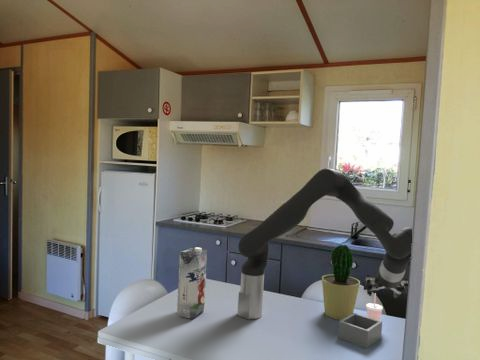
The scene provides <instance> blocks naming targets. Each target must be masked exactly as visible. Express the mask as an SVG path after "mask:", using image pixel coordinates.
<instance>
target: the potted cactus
mask: <svg viewBox="0 0 480 360" xmlns="http://www.w3.org/2000/svg"><path fill="white" fill-rule="evenodd" d="M352 252H353V251H351V249H350V247H349V246H348V245H346V244H343V245H342V244H339V245H338V244H337V245H336V247H334V248H333V250H332V251H331V255H330V262H329V263H330V265H331V268H333V269H332V270H330V271H331V272H332V273H333V274H326V275H325V274H324V275H322V276H321V285H322V294H323V307H324V314H325V316H327V317H328V316H329V318H330V317H331V318H330V319H333V318H334V320H338V319H339V321H340V320H342V319H344V318H346V317H348V316H349V315H351V314H353V313H355V312H354V310H355V306H356V304H357V303H356V302H357V298H358V294H359V288H360V284H361V281H360V280H359V279H358V278H355V277H352V276H350V274H351V270H352V268H353V266H354V257H353V256H354V255H353V253H352Z"/></svg>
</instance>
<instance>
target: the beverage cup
mask: <svg viewBox="0 0 480 360" xmlns="http://www.w3.org/2000/svg"><path fill="white" fill-rule="evenodd" d="M376 298H377V293H376V292H375V293H374V297H373V301H374V302H373V303H372V302H369V303H366V305H365V306H366V317H369V318H372V319H375V320H378V321H381V318H382V312H383V309H384V308H383V305H382V304H381V305H380V304H378V303H376V302H377V301H376Z"/></svg>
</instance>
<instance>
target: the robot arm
mask: <svg viewBox="0 0 480 360" xmlns="http://www.w3.org/2000/svg"><path fill="white" fill-rule="evenodd" d="M325 196H327V197H334V198H336V199H337V200H339V201H341V202H343V203H344V204H346V206H348V207H349V208H350V210H351V211H352V213H354V215H355V217H356V218H357V219H358V220H359V222H360V223H362V224H363V225H364V226H365V227H366V228H367V229H368V230H369V231H370V232H372V233H373V234H374V236H375V237H376V238H377V239H378V241H379V242H380V244H381V245H382V247H383V248H384V250H385V254H384V257H383V259H382V261H381V263H380V265H379V268H378V270H377V271H378V272H377V274H376V276H375V277H371V275H368V274H367V275H366V276H365V279H364V281H363V290H365V291H366V294H367V295H368V296H369V297H371V296H372V295H373V291H379V290H381V289H382V290H383V289H384V290H385V289H386V290H391V291H393V298H394V299H397V298H399V297H400V295H401V294H402V293H403V294H408V292H407V290H408V291H409V289H408V280H409V279H408V278H405V279H404V280H403V278H404V276H405V273H406V269H407V267H408V265H409V262H410V261H411V260H410V257H411V243H412V228H413V227H408V226H407V227H403V228H401V229H400V230H398V231H396V232H395V233H393V234H391V233H390V232H391V230H392V229H393V227H394V224H395V222H394V220H393V218H391V217H390V216H389V215H388V214H387V213H385V211H384V210H382V209H380V207H378V206H377V205H375V203H373V202H372V201H371V200H369V199H368V198H367V197H366V196H365V195H364V194H363V193H361V191H359V189H358V188H357V187H356V186H355V185H354V184H353V182H351V181H350V179H349V178H348V177H347V176H346V175H345V173H343V172H342V171H340V170H336V169H333V168H323V169H320V170H319V171H317V172H316V173H315V174H314V175H313V176H312V177H311V178H310V179H309V180H308V181H307V182H306V184H304V186H303V187H302V188H301V189H300V190H298V191H297V192H296V193H295V194H293V196H291V197H290V198H289V199H288V200H287V201H285V202H284V203H283V204H281V205H280V206H279V207H278V208H277V209H276V210H274V211H273V212H272V213H271V214H270V215H268V217H266V219H265V220H263V221H262V222H261V223H260V224H258V226H256V227H255V228H253V229H252V230H250V231H249V232H247V233H246V234H244V235H243V236H242V237H241V238H240V240H239V242H238V247H237V248H238V251H239V253H240V254H241V255H242V256H243V257H245V258H247V260H246V261H245V262H244V263H243V264H242V265H241V271H240V272H241V273H240V274H241V275H240V291H239V292H238V298H237V299H238V303H237V316H239V317H240V318H244V319H246V320H256V319H260V318H261V317H262V316H263V301H264V283H265V272H266V271H265V270H266V268H267V265H268V256H269V243H270V242H271V241H272V240H274V239H276V238H278V237H281V236H283V235H284V234H286V233H288V232H290V231H292V230H293V229H294V228H295V227H297V226H298V225H299V224H301V223H302V221H304V220H305V218H306V217H307V214H308V211H309V209H310V208H311V207H312V206H313V205H314V204H315V203H316V202H318V201H320V199H322V198H324V197H325Z"/></svg>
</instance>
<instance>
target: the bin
mask: <svg viewBox="0 0 480 360" xmlns="http://www.w3.org/2000/svg"><path fill="white" fill-rule="evenodd" d="M337 330H338V332H337V333H338V334H337V338H339V339H341V340H344V341H346V342H350V343H351V344H353V345H357V346H359V347H362V348H365V349H368V348H370V347H371V346H372V345H373V344H375V343H376V342H377V341H379V340H380V339H382V331H383V321H381V320H380V321H378V320H375V319H372V318H369V317H367V316H365V315H362V314H359V313H357V312H353V314H351V315H349V316H348V317H346V318H344V319H342V320H339V321H338V329H337Z"/></svg>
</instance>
